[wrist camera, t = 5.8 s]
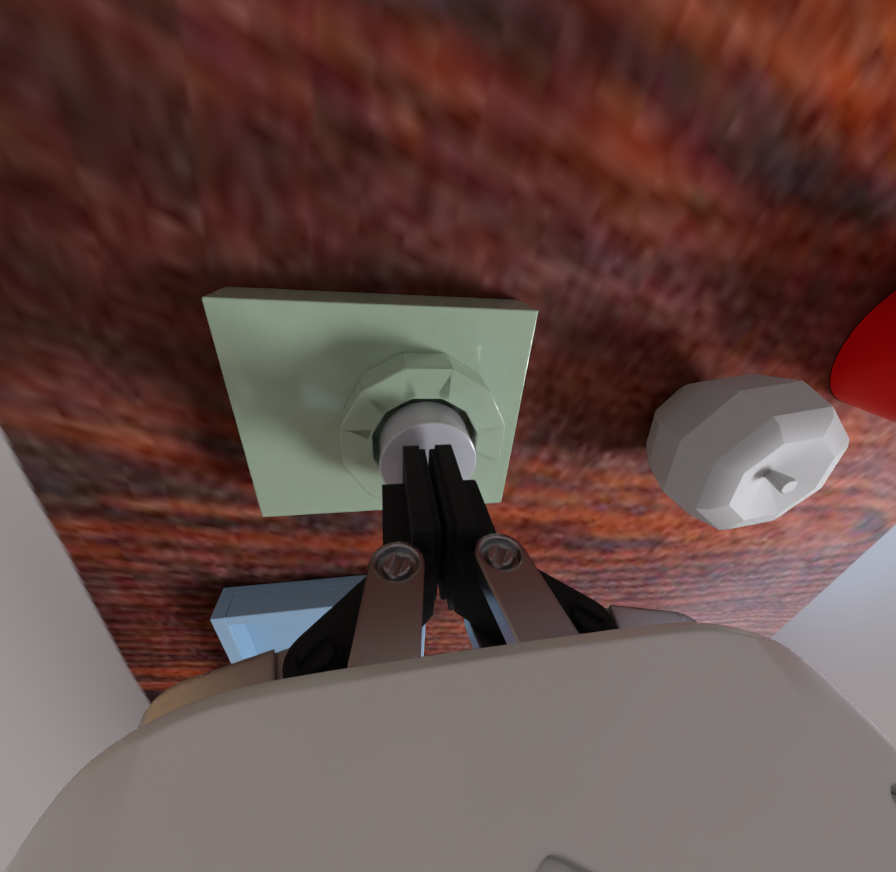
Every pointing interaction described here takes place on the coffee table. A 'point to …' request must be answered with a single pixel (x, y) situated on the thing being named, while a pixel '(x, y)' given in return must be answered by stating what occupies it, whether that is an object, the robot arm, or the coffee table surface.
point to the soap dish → (275, 613)
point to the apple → (744, 447)
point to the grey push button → (423, 438)
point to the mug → (869, 363)
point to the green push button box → (362, 384)
